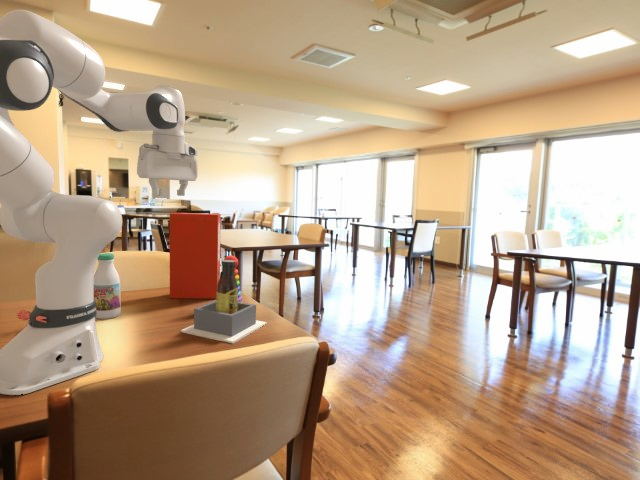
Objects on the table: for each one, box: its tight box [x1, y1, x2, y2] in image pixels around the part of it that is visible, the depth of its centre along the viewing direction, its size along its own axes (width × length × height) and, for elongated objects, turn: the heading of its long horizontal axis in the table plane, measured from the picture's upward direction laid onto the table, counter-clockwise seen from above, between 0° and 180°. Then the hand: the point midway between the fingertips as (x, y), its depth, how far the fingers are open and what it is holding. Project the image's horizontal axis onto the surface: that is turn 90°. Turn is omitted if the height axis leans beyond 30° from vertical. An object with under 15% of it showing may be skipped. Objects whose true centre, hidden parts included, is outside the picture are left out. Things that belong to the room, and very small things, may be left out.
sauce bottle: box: [215, 259, 238, 314], centre depth 116 cm, size 6×6×20 cm
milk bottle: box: [94, 252, 122, 320], centre depth 122 cm, size 8×8×20 cm
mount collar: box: [180, 300, 268, 345], centre depth 116 cm, size 18×18×7 cm
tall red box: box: [168, 212, 222, 300], centre depth 147 cm, size 8×17×32 cm, turn 97°
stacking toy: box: [223, 255, 243, 302], centre depth 136 cm, size 8×8×19 cm
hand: (169, 195), depth 112 cm, fingers open, 8 cm apart
